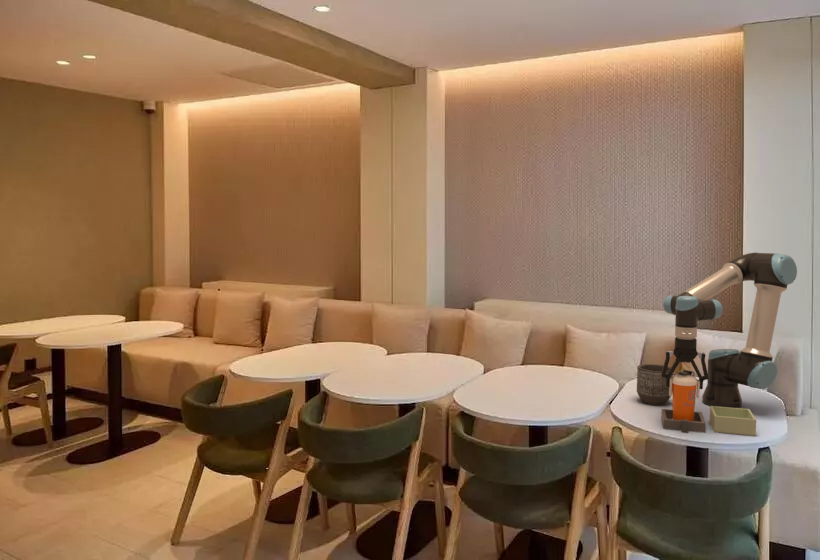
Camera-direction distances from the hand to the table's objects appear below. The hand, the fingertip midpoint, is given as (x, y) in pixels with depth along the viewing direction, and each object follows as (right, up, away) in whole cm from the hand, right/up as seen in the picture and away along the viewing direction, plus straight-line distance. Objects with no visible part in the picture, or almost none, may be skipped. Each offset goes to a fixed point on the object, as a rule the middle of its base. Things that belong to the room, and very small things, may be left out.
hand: (683, 396), depth 243 cm
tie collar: (-1, -11, 0) cm, 11 cm away
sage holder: (+16, -11, -3) cm, 20 cm away
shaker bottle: (0, -11, +1) cm, 11 cm away
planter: (+1, -8, +31) cm, 32 cm away
